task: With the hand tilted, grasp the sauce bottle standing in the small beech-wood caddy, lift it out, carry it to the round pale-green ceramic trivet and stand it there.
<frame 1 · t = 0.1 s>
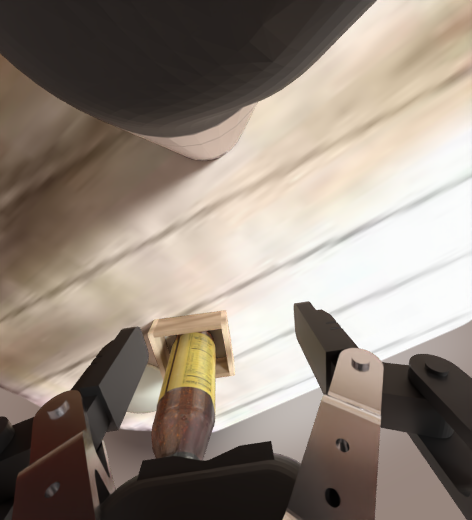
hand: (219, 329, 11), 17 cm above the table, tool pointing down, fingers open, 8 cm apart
trivet: (139, 387, 36), on the table
sauce bottle: (196, 339, 33), resting in caddy
caddy: (196, 340, 33), on the table
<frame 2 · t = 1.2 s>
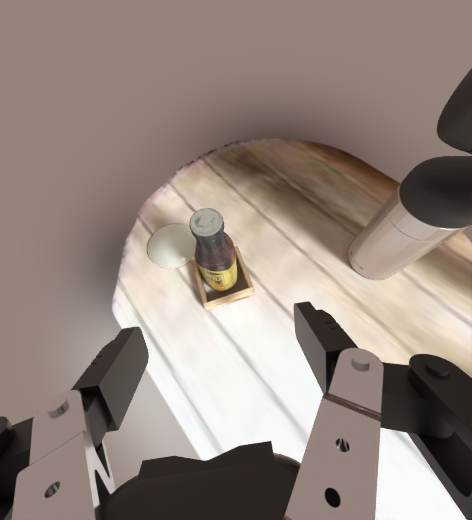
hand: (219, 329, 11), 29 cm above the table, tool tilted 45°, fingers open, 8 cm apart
trivet: (173, 246, 48), on the table
sauce bottle: (223, 279, 44), resting in caddy
caddy: (223, 278, 44), on the table
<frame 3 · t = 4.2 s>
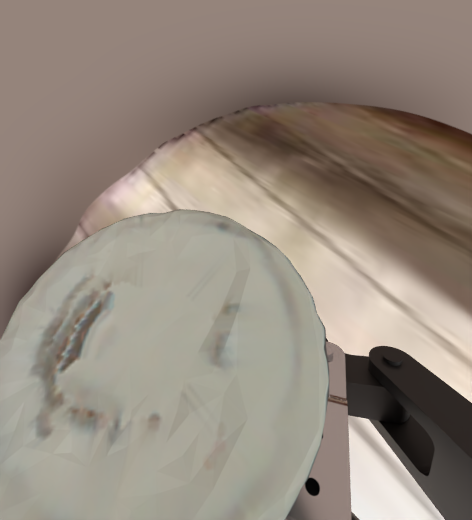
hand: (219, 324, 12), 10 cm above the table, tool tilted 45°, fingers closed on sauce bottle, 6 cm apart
sauce bottle: (235, 363, 20), resting in caddy, touching gripper
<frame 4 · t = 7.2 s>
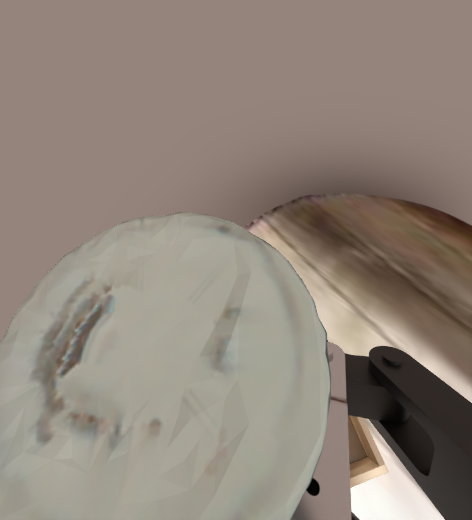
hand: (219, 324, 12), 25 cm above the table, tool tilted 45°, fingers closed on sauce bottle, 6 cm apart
sauce bottle: (235, 363, 20), point 15 cm above the table, touching gripper
caddy: (322, 426, 30), on the table
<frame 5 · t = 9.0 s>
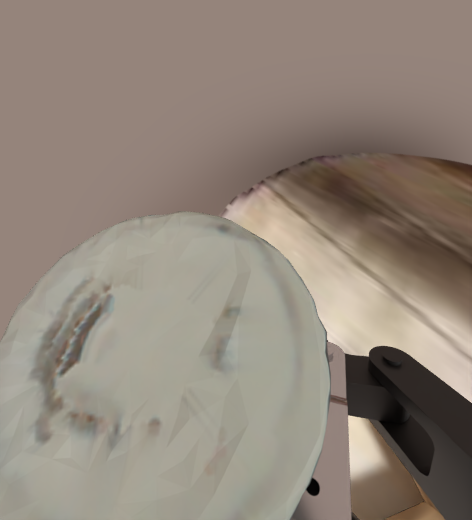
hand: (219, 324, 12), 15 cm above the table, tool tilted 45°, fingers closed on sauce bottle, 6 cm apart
sauce bottle: (235, 363, 20), point 5 cm above the table, touching gripper
caddy: (355, 454, 21), on the table
when the fingers open (12 cm above the table, at t = 10.3 s): sauce bottle drops 1 cm, resting on trivet.
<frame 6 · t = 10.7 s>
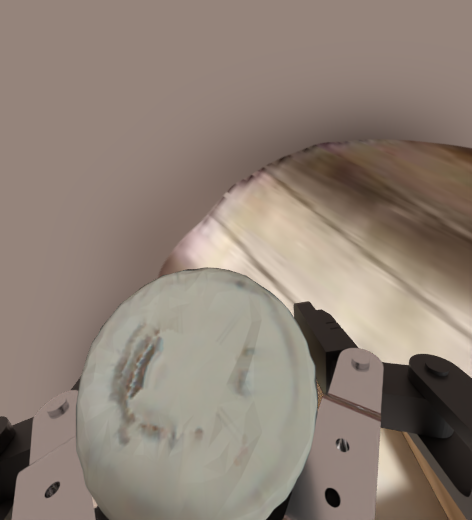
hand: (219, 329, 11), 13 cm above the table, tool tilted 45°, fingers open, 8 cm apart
sauce bottle: (236, 366, 22), resting on trivet
caddy: (370, 472, 18), on the table
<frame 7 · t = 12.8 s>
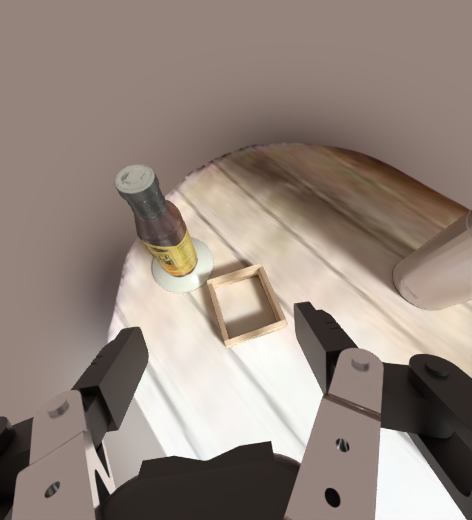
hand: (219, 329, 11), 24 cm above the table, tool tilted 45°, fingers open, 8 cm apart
trivet: (183, 264, 40), on the table
sauce bottle: (182, 264, 40), resting on trivet
caddy: (245, 306, 36), on the table
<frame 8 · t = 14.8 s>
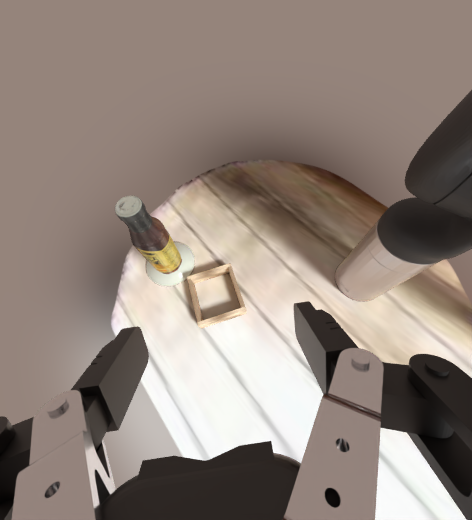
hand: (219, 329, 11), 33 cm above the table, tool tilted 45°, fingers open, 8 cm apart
trivet: (171, 263, 50), on the table
sauce bottle: (170, 263, 50), resting on trivet
caddy: (217, 297, 46), on the table
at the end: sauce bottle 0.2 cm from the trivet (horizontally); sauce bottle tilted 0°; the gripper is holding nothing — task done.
